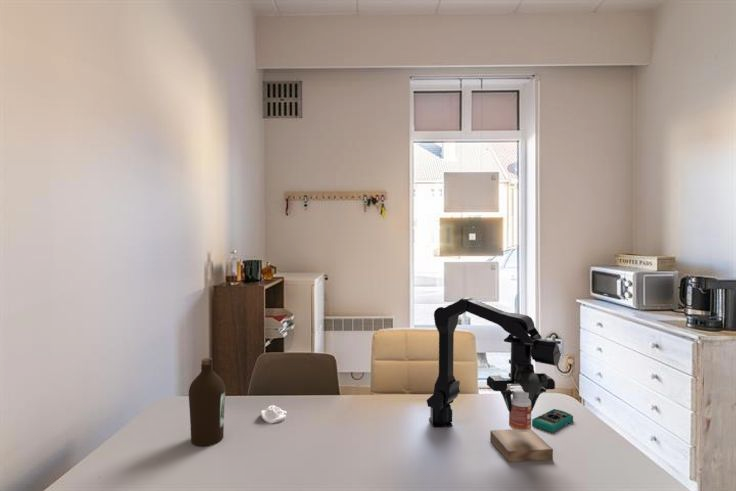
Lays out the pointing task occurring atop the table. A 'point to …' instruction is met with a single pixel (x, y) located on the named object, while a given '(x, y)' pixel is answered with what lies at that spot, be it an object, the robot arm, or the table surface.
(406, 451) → the table surface
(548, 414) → the digital multimeter
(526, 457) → the walnut base
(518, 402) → the pill bottle
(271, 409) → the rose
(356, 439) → the table surface
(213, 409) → the olive oil
